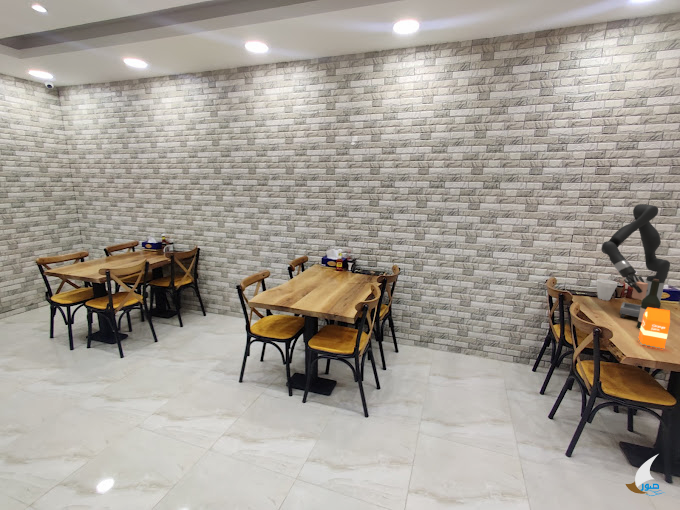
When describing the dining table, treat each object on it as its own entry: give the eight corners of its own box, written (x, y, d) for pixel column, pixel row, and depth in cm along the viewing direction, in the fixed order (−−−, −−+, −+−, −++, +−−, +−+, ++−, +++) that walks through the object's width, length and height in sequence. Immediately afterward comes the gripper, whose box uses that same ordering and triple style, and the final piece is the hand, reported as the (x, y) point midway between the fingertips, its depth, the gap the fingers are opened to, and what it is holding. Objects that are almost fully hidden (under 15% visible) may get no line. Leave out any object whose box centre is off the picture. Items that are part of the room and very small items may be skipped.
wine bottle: (650, 326, 193) (661, 278, 187) (658, 332, 186) (670, 282, 179) (633, 324, 196) (643, 276, 190) (640, 330, 188) (651, 280, 182)
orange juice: (664, 349, 166) (672, 312, 162) (641, 345, 170) (649, 309, 166) (659, 343, 172) (667, 308, 168) (637, 339, 177) (645, 304, 173)
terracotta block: (631, 297, 205) (634, 282, 203) (636, 296, 207) (639, 281, 205) (640, 299, 201) (643, 284, 199) (644, 298, 203) (648, 283, 201)
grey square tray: (621, 311, 216) (623, 302, 215) (649, 317, 207) (652, 307, 205) (618, 317, 207) (620, 307, 205) (648, 324, 197) (651, 313, 195)
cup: (596, 300, 239) (599, 282, 236) (591, 295, 250) (594, 278, 247) (617, 302, 234) (620, 284, 231) (610, 297, 245) (614, 279, 242)
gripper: (623, 266, 204) (642, 290, 196) (637, 264, 209) (656, 288, 201) (612, 272, 210) (630, 296, 202) (626, 270, 215) (644, 293, 207)
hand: (643, 292), depth 201 cm, fingers closed on terracotta block, 4 cm apart
